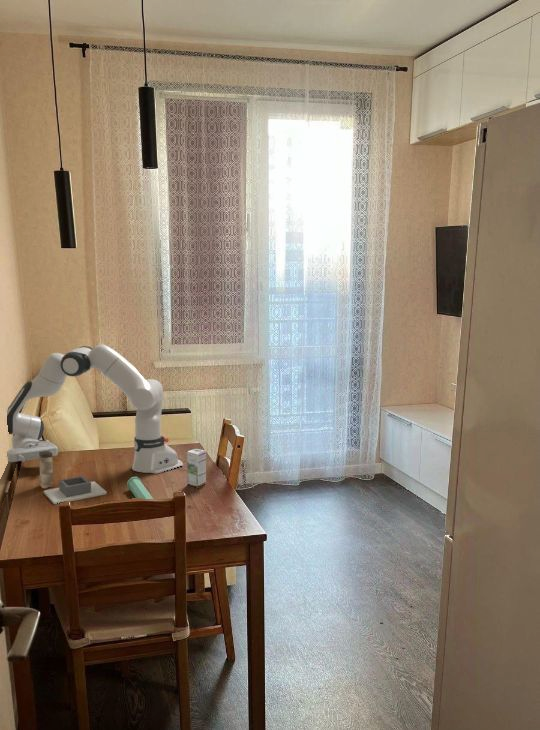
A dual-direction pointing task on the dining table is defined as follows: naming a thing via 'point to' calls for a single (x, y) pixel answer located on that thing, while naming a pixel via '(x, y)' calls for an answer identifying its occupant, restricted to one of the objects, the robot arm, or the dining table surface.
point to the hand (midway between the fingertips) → (37, 457)
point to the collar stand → (74, 490)
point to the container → (138, 488)
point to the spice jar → (46, 469)
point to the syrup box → (196, 467)
